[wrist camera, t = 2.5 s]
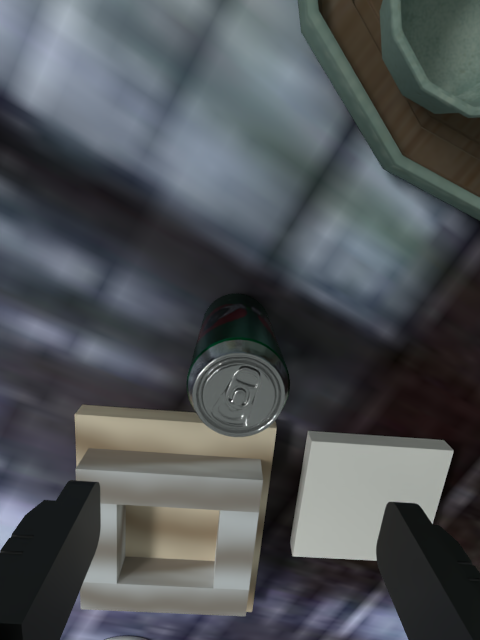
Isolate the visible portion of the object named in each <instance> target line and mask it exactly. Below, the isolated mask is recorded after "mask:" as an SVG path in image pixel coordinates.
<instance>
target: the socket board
mask: <svg viewBox="0 0 480 640" xmlns="http://www.w3.org/2000/svg"><path fill="white" fill-rule="evenodd" d="M276 430H277V427H276V422H275V421H274V423H273V424H271V425H270V426H269V427H268V428H266V429H265V430H263V431H262V432H259V433H257V434H255V435H251V436H246V437H230V436H225V435H222V434H219V433H217V432H215V431H213V430H212V429H210V428H209V427H207V426H206V425H205V424H204V423H203V422H202V421H201V419H200V418H199V416H198V415H197V413H194V412H179V411H165V410H150V409H136V408H122V407H107V406H93V405H82V406H81V407H80V408H79V410H78V411H77V412H76V413H75V434H76V461H77V468H76V481H91V482H99V484H100V507H101V530H100V537H99V542H98V546H97V549H96V552H95V555H94V557H93V560H92V562H91V565H90V567H89V570H88V572H87V574H86V577H85V579H84V582H83V584H82V587H81V589H80V598H81V609H88V610H111V611H135V612H158V613H181V614H204V615H227V616H246V612H252V608H253V601H254V593H255V586H256V579H257V571H258V564H259V556H260V549H261V542H262V534H263V527H264V519H265V512H266V505H267V497H268V490H269V482H270V475H271V467H272V460H273V453H274V445H275V438H276Z"/></svg>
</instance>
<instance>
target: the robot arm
mask: <svg viewBox="0 0 480 640" xmlns="http://www.w3.org/2000/svg"><path fill="white" fill-rule="evenodd" d="M100 530H101V507H100V484H99V482H91V481H75V480H70V481H69V482H68V483H67V484H66V486H65V487H64V489H63V490H62V492H61V494H60V495H59V497H58V498H57V500H56V501H51V500H44V501H43V502H41V503H40V504H39V505H38V506H36V507H35V508H34V509H32V510H31V511H30V512H29V513H27V514H26V515H25V516H24V518H23V519H22V521H21V522H20V523H19V525H18V526H17V528H16V529H15V530H14V532H13V533H12V536H11V538H9V539H8V540H7V542H6V543H5V545H4V546H3V548H2V549H1V552H0V640H60V637H61V635H62V633H63V630H64V628H65V625H66V623H67V621H68V618H69V616H70V613H71V611H72V608H73V606H74V604H75V601H76V599H77V596H78V594H79V591H80V589H81V587H82V584H83V582H84V579H85V577H86V574H87V572H88V570H89V567H90V565H91V562H92V560H93V557H94V555H95V552H96V549H97V546H98V542H99V537H100ZM376 557H377V563H378V567H379V570H380V573H381V575H382V577H383V580H384V582H385V585H386V587H387V589H388V592H389V594H390V597H391V599H392V601H393V604H394V606H395V608H396V611H397V613H398V616H399V618H400V620H401V623H402V625H403V627H404V630H405V632H406V635H407V637H408V639H409V640H480V573H479V571H478V570H477V569H476V567H475V566H473V565H472V561H471V560H470V559H469V557H468V556H467V554H466V553H465V551H464V550H463V549H462V547H461V546H460V544H459V543H458V542H457V541H456V540H455V539H454V538H453V537H452V536H450V535H449V534H448V533H447V532H446V531H445V530H444V529H443V528H442V527H440V526H439V525H433V524H432V523H431V521H430V520H429V518H428V517H427V515H426V514H425V512H424V511H423V509H422V508H421V507H420V506H419V505H418V504H416V503H404V502H388V503H387V505H386V507H385V511H384V515H383V520H382V524H381V528H380V532H379V536H378V540H377V545H376Z"/></svg>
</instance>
